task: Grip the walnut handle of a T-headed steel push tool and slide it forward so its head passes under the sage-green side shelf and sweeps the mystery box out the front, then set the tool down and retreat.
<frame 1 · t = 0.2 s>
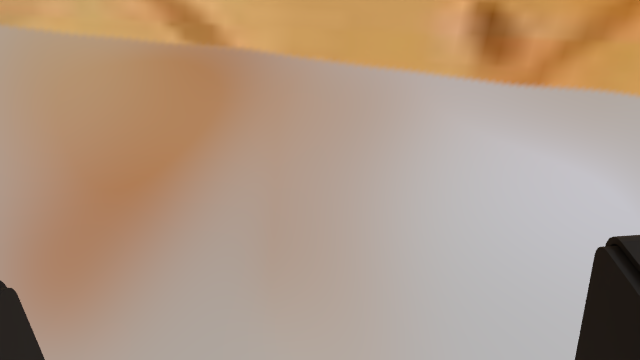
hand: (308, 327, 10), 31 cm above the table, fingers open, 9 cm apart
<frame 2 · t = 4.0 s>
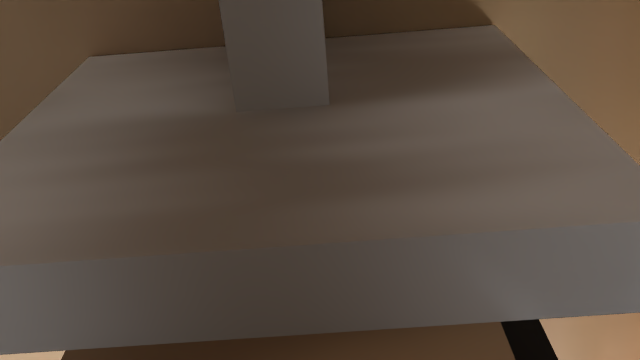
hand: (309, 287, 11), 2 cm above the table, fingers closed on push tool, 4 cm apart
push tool: (309, 232, 12), on the table, touching gripper
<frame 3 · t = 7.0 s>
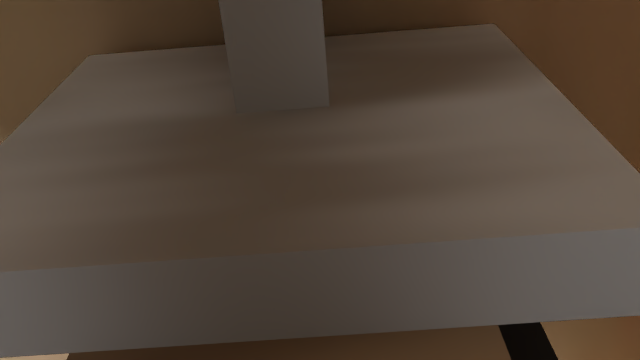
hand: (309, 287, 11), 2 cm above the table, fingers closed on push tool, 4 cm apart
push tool: (309, 229, 12), on the table, touching gripper, mystery box
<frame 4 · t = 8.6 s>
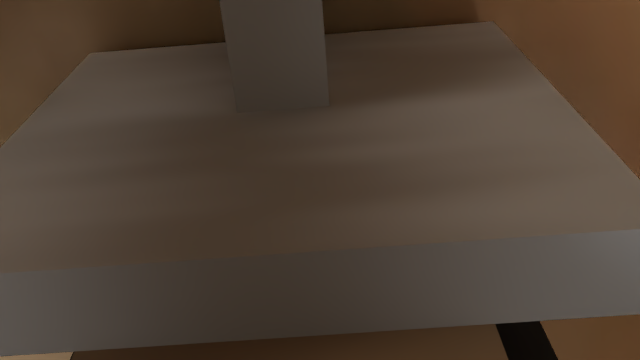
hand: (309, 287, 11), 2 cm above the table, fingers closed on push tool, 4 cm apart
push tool: (309, 225, 12), on the table, touching gripper
when the fingers open (2 cm above the table, at t = 10.6 s): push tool stays where it is, on the table.
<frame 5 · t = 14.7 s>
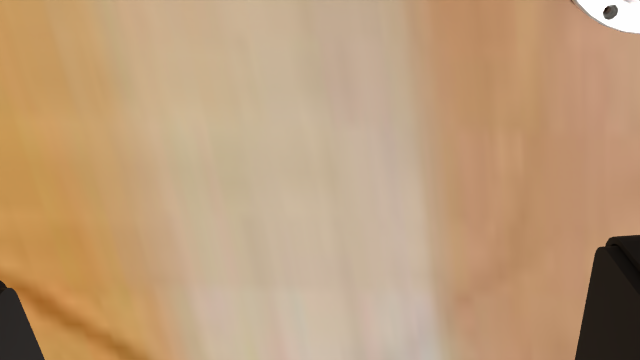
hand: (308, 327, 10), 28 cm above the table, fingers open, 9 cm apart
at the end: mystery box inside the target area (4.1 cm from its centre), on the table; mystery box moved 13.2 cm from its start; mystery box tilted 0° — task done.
